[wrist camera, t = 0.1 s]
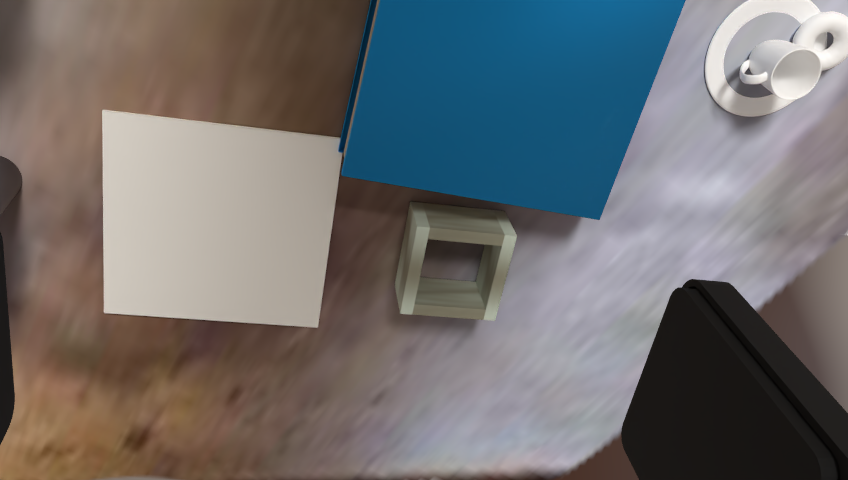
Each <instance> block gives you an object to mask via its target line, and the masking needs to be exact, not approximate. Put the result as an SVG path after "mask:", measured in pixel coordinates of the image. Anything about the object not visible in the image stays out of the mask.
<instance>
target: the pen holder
mask: <svg viewBox="0 0 848 480" xmlns="http://www.w3.org/2000/svg"><path fill="white" fill-rule="evenodd" d="M516 238H517V235H516V233H515V231H514V229H513V227H512V225H511V223H510V221H509V219H508V217H507V215H506V213H505V211H498V210H489V209H479V208H469V207H460V206H450V205H440V204H431V203H421V202H411V201H410V206H409V211H408V216H407V222H406V227H405V232H404V238H403V243H402V248H401V254H400V259H399V264H398V270H397V275H396V280H395V290H396V295H397V300H398V305H399V310H400V314H411V315H424V316H438V317H451V318H465V319H478V320H492V321H495V319H496V315H497V311H498V307H499V303H500V300H501V296H502V292H503V288H504V284H505V280H506V277H507V273H508V269H509V265H510V261H511V258H512V254H513V250H514V246H515V242H516ZM428 239H432V240H443V241H453V242H464V243H474V244H485V245H484V250H483V254H482V258H481V262H480V266H479V270H478V274H477V278H476V282H472V281H460V280H448V279H436V278H424V277H420V274H421V269H422V264H423V259H424V255H425V250H426V245H427V240H428Z"/></svg>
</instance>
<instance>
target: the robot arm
mask: <svg viewBox="0 0 848 480" xmlns="http://www.w3.org/2000/svg"><path fill="white" fill-rule="evenodd" d="M14 402H15V394H14V381H13V368H12V355H11V342H10V329H9V316H8V303H7V290H6V277H5V264H4V251H3V240H2V235H1V233H0V445H1V442H2V440H3V438H4V436H5V434H6V432H7V430H8V428H9V425H10V423H11V419H12V416H13V410H14ZM621 435H622V444H623V447H624V450H625V452H626V454H627V456H628V458H629V460H630V462H631V464H632V466H633V468H634V470H635V472H636V474H637V476H638V478H639V480H848V413H847V412H846V411H845V410H844V409H843V408H842V406H841V405H840V404H839V403H838V402H837V401H836V400H835V399H834V398H833V396H832V395H831V394H830V393H829V392H828V391H827V390H826V389H825V388H824V386H823V385H822V384H821V383H820V382H819V381H818V380H817V379H816V378H815V376H814V375H813V374H812V373H811V372H810V371H809V370H808V369H807V368H806V367H805V365H804V364H803V363H802V362H801V361H800V360H799V359H798V358H797V357H796V355H794V353H793V352H792V351H791V350H790V349H789V348H788V347H787V345H786V344H785V343H784V342H783V341H782V340H781V339H780V338H779V337H778V335H777V334H775V332H774V331H773V330H772V329H771V328H770V327H769V325H768V324H767V323H766V322H765V321H764V320H763V319H762V318H761V317H760V315H759V314H758V313H757V312H756V311H755V310H754V309H753V308H752V307H751V305H750V304H749V303H748V302H747V301H746V300H745V299H744V298H743V297H742V296H741V294H740V293H739V292H738V291H737V290H736V289H735V288H734V287H733V286H732V285H731V284H730V283H727V282H718V281H707V280H695V279H691V280H689V281H687V282H686V283H685V284H684V285H683V287H682V288H677V289H675V290H674V291H673V292H672V294H671V297H670V299H669V302H668V304H667V307H666V310H665V312H664V315H663V318H662V320H661V323H660V326H659V328H658V331H657V334H656V337H655V339H654V342H653V345H652V347H651V350H650V353H649V355H648V358H647V361H646V363H645V366H644V369H643V371H642V374H641V377H640V379H639V382H638V385H637V388H636V390H635V393H634V396H633V398H632V401H631V404H630V406H629V409H628V412H627V414H626V417H625V420H624V422H623V426H622V433H621Z"/></svg>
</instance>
